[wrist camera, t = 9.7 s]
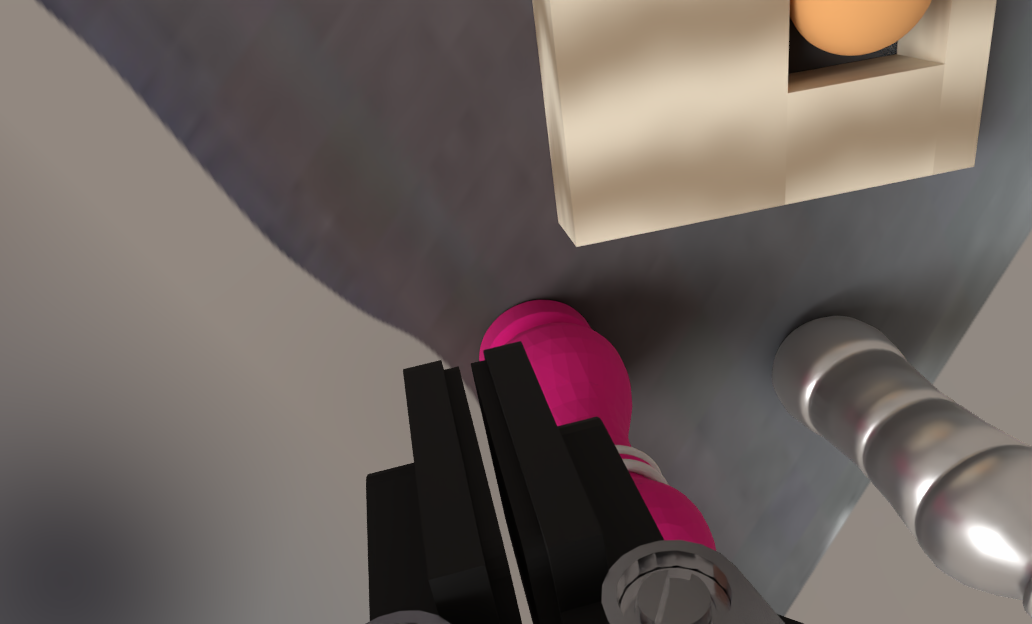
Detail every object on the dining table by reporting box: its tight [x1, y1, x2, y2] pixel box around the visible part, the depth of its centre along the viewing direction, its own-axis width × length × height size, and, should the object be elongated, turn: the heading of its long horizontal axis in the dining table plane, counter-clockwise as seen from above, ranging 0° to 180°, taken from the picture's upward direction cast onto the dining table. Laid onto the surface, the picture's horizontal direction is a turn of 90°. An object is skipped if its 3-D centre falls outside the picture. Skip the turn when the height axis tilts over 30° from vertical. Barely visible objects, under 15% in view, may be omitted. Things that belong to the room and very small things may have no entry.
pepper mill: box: [479, 300, 716, 551], centre depth 33 cm, size 7×7×20 cm
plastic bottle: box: [772, 316, 1032, 618], centre depth 36 cm, size 6×7×20 cm
